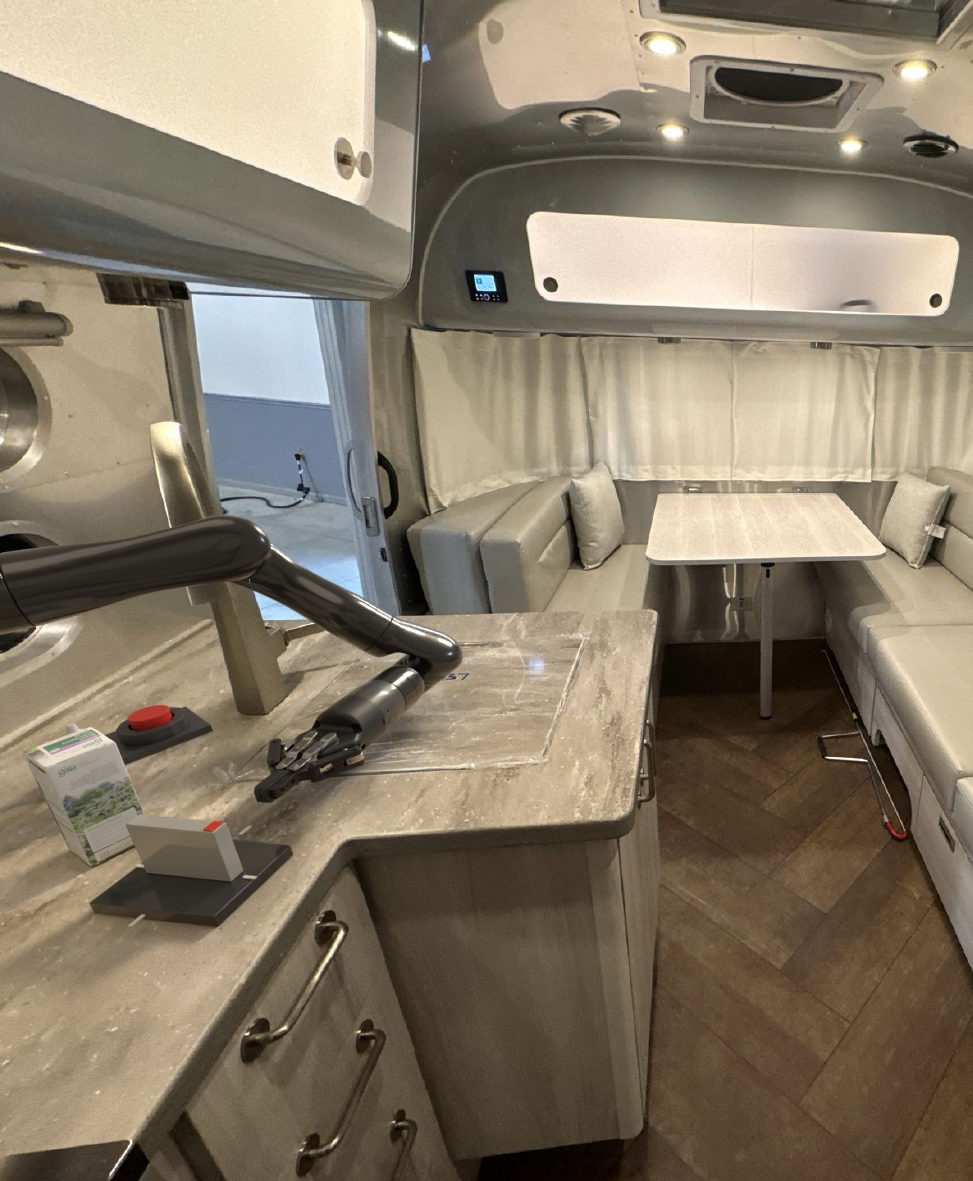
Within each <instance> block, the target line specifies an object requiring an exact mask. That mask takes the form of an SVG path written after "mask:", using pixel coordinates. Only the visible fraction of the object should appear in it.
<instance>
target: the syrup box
mask: <svg viewBox="0 0 973 1181" xmlns="http://www.w3.org/2000/svg"><path fill="white" fill-rule="evenodd" d="M82 729H83V730H80V731H78V732H75V733H72V734H69V735H67V736H64V737H62V736H61V737H58V738H56V739H53V740H50V741H47V742H44V743H42V744H40V745H37V746H34V747H31V748H29V749H26V750H23V751H22V754H23V757H24V759H25V762H26V764H27V766H28V768H29V770H30V771H31V774H32V776H33V779H34V780H35V782H36V784H37V786H38V788H39V790H40V792H41V794H42V796H43V798H44V800H45V802H46V804H47V807H48V808H49V810H50V813H51V815H52V817H53V819H54V821H55V823H56V825H57V827H58V829H59V832H60V834H61V837H62V838H63V840H64V842H65V844H66V846H67V848H68V850H70V852H72V853H73V854H75V855H76V856H77V857H79V859H81V860H82V861H84V863H86V864H87V865H88V866H90V868H93V867H95V866H98V865H99V864H102V863H104V862H105V861H107V860H109V859H111V858H113V857H116V856H117V855H120V854H121V853H123V852H125V851H127V850H130V849H131V848H133V847H135V845H134V843H133V841H132V839H131V836H130V834H129V832H128V830H127V827H126V825H125V824H126V823H128V822H129V821H131V820H132V819H134V818H135V817H136V816H138V815H139V814H143V815H146V814H145V812H144V810H143V807H142V805H141V803H140V800H139V797H138V796H137V792H136V790H135V788H134V785H133V783H132V780H131V778H130V775H129V773H128V769H127V768H126V765H124V763H123V760H122V757H121V755H120V753H119V750H118V748H117V745H116V743H115V742H114V741H112V740H111V739H109V738H107V737H106V736H105V735H106V734H104V733H102V732H101V731H99V730H98V729H96V728H95V727H93V726H89V727H86V728H82Z"/></svg>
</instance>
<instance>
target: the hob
mask: <svg viewBox="0 0 973 1181" xmlns="http://www.w3.org/2000/svg"><path fill="white" fill-rule="evenodd" d="M251 828H252V825H247V826H246V827H244V829H243V830H241V831H240V832H239V833H238V836H243V835H244V834H245V833H246V832H248V831H249V830H250V829H251ZM232 841H233V843H234V846H235V849H236V852H237V854H238V857H239V860H240V862H241V865H242V868H243V872H242V873H240V874H239V875H238V876H237V877H236V878H235V879H234V880H233V881H231V882H230V881H220V880H211V879H201V878H191V877H182V876H172V875H163V874H153V873H147V872H146V870H145V868H144V866H143V863H142V862H141V863H136V864H135V865H133V867H134V868H133V869H132V870H130V871H129V872H128V873H126V874H125V875H124V876H122V877H121V878H120V879H119V880H117V881H116V882H115V883H113V884H112V885H111V886H109V887H107V889H105V890H104V891H103V892H101V893H100V894H99V895H97V896H96V897H94V899H92V900H91V901H89V903H88V904H89V907H90V908H91V910H92V912H93V914H98V915H108V916H110V915H111V916H118V917H127V918H136V919H134V920H133V921H132V922H131V923H129V924H128V925H127V927H128V928H133V926H135V925H137V923H139V922H140V921H141V920H142V919H146V920H155V921H164V922H173V923H181V924H182V923H183V924H190V925H192V924H193V925H202V926H211V927H219V926H220V925H222V923H223V922H224V921H226V919H228V918H229V917H230V916H231V915H232V914H233V913H234V912H235V911H236V910H237V909H239V907H240V906H241V905H242V904H243V903H244V902H246V901H247V900H248V898H249V897H251V896H252V895H253V894H254V893H256V891H257V890H258V889H259V888H261V886H263V885H264V883H265V882H267V880H269V879H270V878H271V877H272V876H273V875H274V874H275V873H277V871H278V870H279V869H280V868H281V867H282V866H283V865H285V864H286V862H287V861H288V860H290V858H292V857H293V856H294V852H293V849H292V845H290V844H281V843H272V842H261V841H253V840H252V841H251V840H241V839H233V838H232Z"/></svg>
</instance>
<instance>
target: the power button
mask: <svg viewBox="0 0 973 1181" xmlns="http://www.w3.org/2000/svg"><path fill="white" fill-rule="evenodd" d="M169 707H170V706H168V705H166V704H154V705H149V706H146V707H142V708H140V709H137V710H135V711H134V712H132V713H130V715H128V717H127V719H128V721H129V723H130V726H131V728H132V729H133V730H137V731H141V730H146V729H152V728H155V727H158V726H160V725H163V724H165V723H167V722H169V721H170V720H172V714H171V712H170V709H169Z"/></svg>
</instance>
